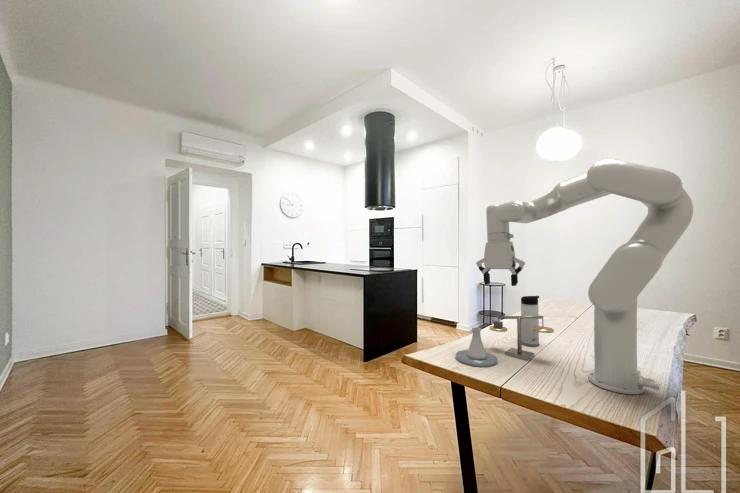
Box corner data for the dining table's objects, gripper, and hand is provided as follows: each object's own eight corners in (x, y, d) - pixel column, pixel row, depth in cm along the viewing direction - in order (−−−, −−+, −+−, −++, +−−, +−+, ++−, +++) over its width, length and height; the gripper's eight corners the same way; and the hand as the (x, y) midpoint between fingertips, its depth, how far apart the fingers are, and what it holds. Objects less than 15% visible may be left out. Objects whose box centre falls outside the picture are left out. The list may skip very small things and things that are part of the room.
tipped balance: (556, 361, 103) (556, 315, 103) (550, 366, 99) (549, 318, 99) (494, 346, 119) (493, 306, 119) (486, 350, 115) (486, 309, 115)
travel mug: (538, 348, 117) (537, 297, 117) (520, 345, 121) (519, 295, 121) (540, 343, 122) (540, 295, 122) (523, 341, 126) (522, 293, 126)
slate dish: (504, 359, 105) (504, 356, 105) (485, 370, 96) (485, 367, 96) (468, 349, 116) (468, 347, 116) (448, 359, 106) (448, 356, 106)
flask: (484, 353, 109) (484, 326, 109) (490, 360, 102) (490, 331, 102) (464, 352, 110) (463, 325, 110) (468, 360, 102) (468, 331, 102)
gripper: (527, 237, 106) (529, 285, 105) (480, 239, 118) (482, 282, 118) (519, 236, 100) (521, 287, 100) (471, 239, 113) (473, 284, 112)
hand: (500, 284), depth 109 cm, fingers open, 9 cm apart
